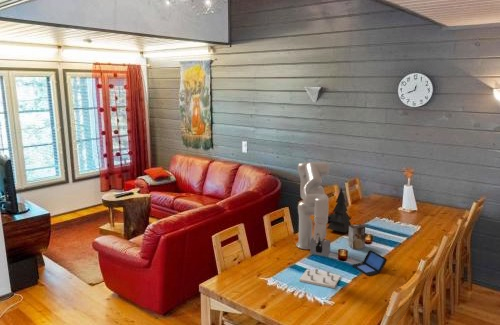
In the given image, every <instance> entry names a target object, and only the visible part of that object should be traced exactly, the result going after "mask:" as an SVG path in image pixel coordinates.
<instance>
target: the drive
mask: <svg viewBox="0 0 500 325" xmlns="http://www.w3.org/2000/svg"><path fill="white" fill-rule="evenodd" d="M319 240H321V239H319ZM319 242H320V241H319ZM321 246H322V252H321V253H318V252H316V240H314V236H313V238H312V239H311V240H310V249H309V251H310V252H309V254H310V255H316V256H322V257H329V256H330V254H331V239H327V238H325V239H323V241H322V243H321Z"/></svg>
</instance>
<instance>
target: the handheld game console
mask: <svg viewBox="0 0 500 325" xmlns="http://www.w3.org/2000/svg"><path fill="white" fill-rule="evenodd" d="M387 261H388V259H387V258H386V257H385V256H383V255H381V254H379V253H377V252H375V251H373V250H372V249H369V250H368V251H367V253H366V255H365V257H364V259H363V261H362V262H359V263H354V264H352V267H353V268H354V269H356V270H357V271H359V272H361V273H362V274H364V275H365V276H367V277H372V276H377V275H380V274H382V271H383V269H384V267H385V265H386V263H387Z"/></svg>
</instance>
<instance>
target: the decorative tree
mask: <svg viewBox="0 0 500 325" xmlns="http://www.w3.org/2000/svg"><path fill="white" fill-rule="evenodd" d="M335 203H336V205H335V207H334V208H333V210H332V212H333V213H332V214H333V216H332V217H331V219H330V220H329V221H331V223H328V226H327V229H329V230H333V231H336V232H337V233H347V232H349V225H352V223H351V220H352V218H351V217H350V216H349V214H348V209H347V206H346V199H345V195H344V192H343V189H342V187H340V190H339V194H338V195H337V198H336V201H335Z"/></svg>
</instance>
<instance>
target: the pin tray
mask: <svg viewBox="0 0 500 325" xmlns="http://www.w3.org/2000/svg"><path fill="white" fill-rule="evenodd" d="M340 280H341V275H339V274H334V273H330V270H327V271H326V272H324V271H320V270H318V268H314V270H313V269H310V268H309V269H307V268H306V270H305V271H304V272H303V274H302V275H301V276H300V278H299V279H298V281H299V282H303V283H306V284H307V283H308V284H310V285H311V284H312V285H316V286H321V287H325V288H331V289H335V288H336V287H337V285H338V284H339V281H340Z"/></svg>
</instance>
